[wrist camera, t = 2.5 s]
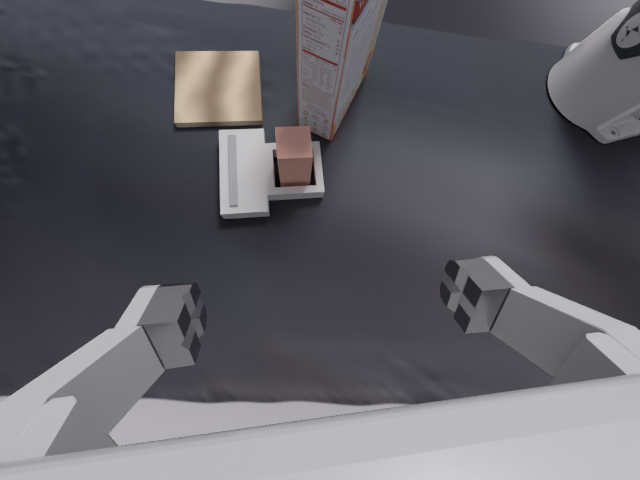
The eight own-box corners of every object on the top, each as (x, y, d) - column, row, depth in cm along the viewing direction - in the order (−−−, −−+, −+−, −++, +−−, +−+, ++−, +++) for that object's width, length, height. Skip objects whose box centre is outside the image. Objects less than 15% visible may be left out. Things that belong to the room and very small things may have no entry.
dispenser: (316, 135, 41) (318, 125, 39) (324, 212, 38) (326, 207, 36) (222, 138, 39) (218, 128, 37) (224, 219, 37) (219, 213, 35)
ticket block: (307, 160, 40) (309, 125, 32) (309, 186, 39) (312, 157, 31) (279, 161, 39) (274, 127, 32) (280, 188, 39) (277, 158, 31)
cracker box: (333, 58, 44) (364, -151, 24) (367, 74, 44) (428, -123, 24) (293, 126, 41) (291, -49, 21) (330, 144, 41) (365, -15, 20)
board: (259, 56, 43) (258, 50, 42) (262, 124, 40) (262, 120, 40) (178, 57, 42) (175, 51, 41) (177, 127, 39) (174, 122, 38)
